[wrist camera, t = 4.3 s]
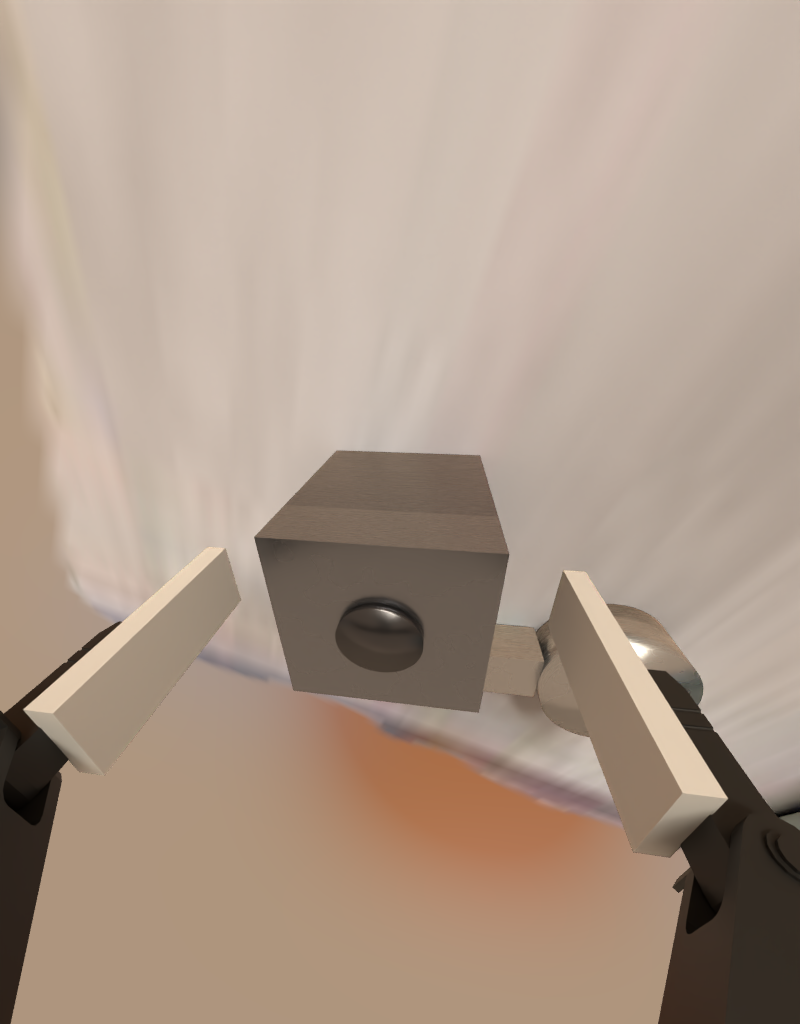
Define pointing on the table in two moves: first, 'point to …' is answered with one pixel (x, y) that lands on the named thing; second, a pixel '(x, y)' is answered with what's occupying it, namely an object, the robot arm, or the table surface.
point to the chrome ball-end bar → (536, 664)
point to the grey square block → (388, 578)
